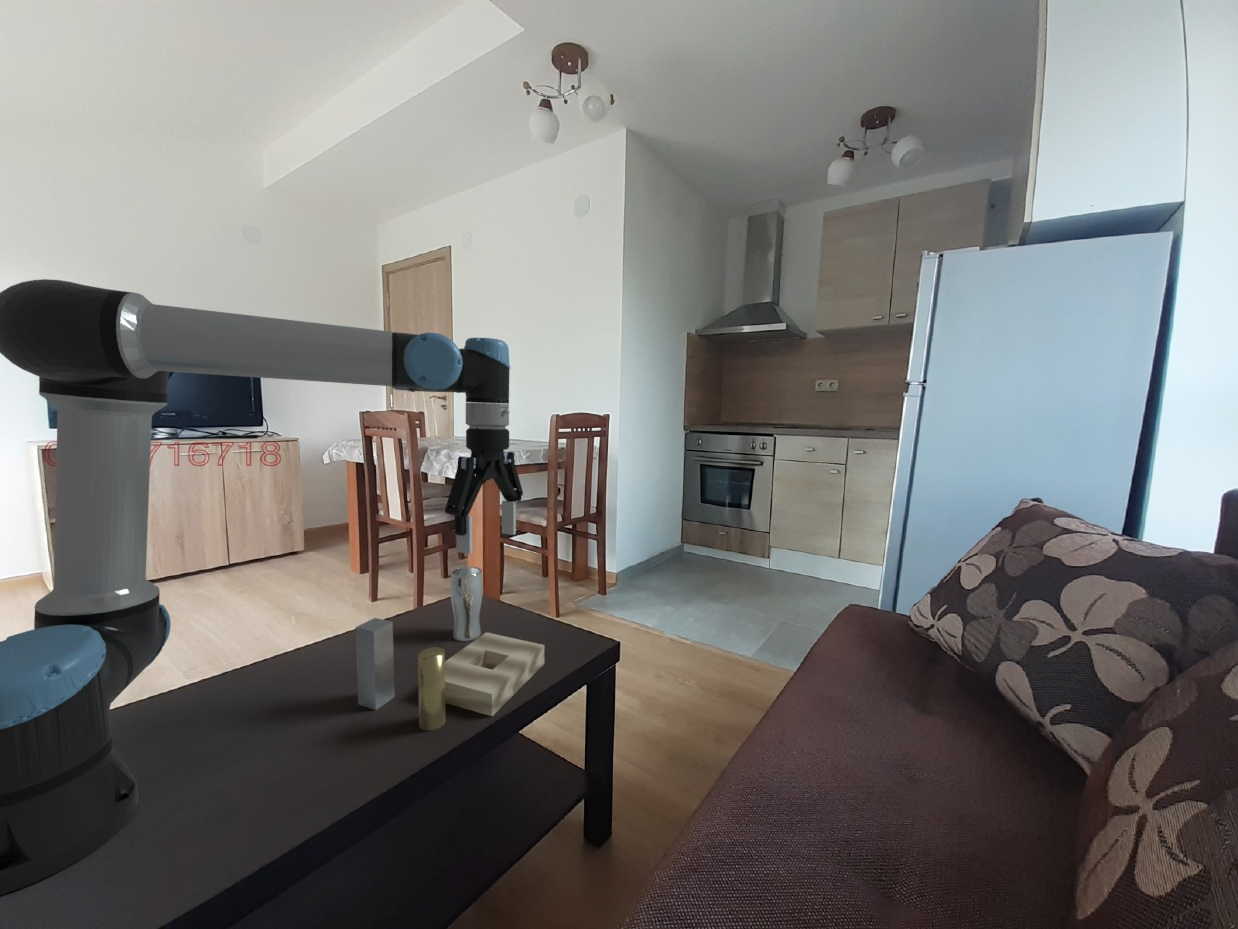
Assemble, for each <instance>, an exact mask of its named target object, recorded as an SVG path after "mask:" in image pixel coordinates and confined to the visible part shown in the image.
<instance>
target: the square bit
mask: <svg viewBox="0 0 1238 929" xmlns="http://www.w3.org/2000/svg"><path fill="white" fill-rule="evenodd" d="M355 650H356V676H357V678H356V680H357V681H356V682H357V699H358V700H357V702H358V703H357V704H358V706H362V707H365V708H368V709H371V710H375V711H377V710H379V709H380V708H381V707H383V706H384V705H386V704H387V703H389V702H390V701H391V700H393V699H394V698H395V696H396V695H395V664H394V662H395V661H394V657H395V656H394V624H393V621H391V620H387V619H382V618H378V617H374V618H372V619H370V620H368V621H366V622H364V623H361V624H359V625H357V626H355Z"/></svg>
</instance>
